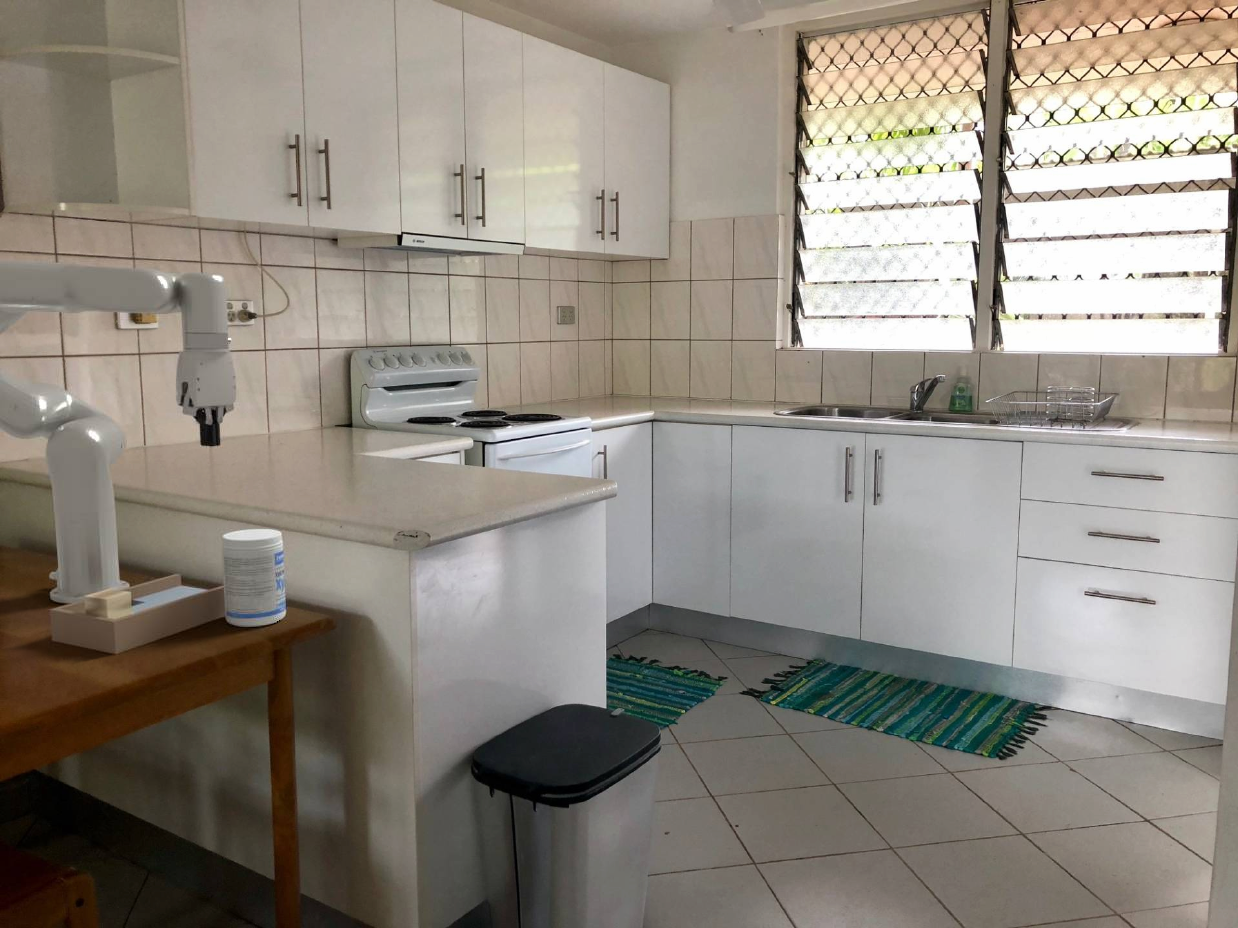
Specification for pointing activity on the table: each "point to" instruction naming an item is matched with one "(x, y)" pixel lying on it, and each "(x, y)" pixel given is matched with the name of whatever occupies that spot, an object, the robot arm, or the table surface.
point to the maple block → (109, 603)
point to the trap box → (139, 616)
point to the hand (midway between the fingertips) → (210, 445)
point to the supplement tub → (253, 577)
